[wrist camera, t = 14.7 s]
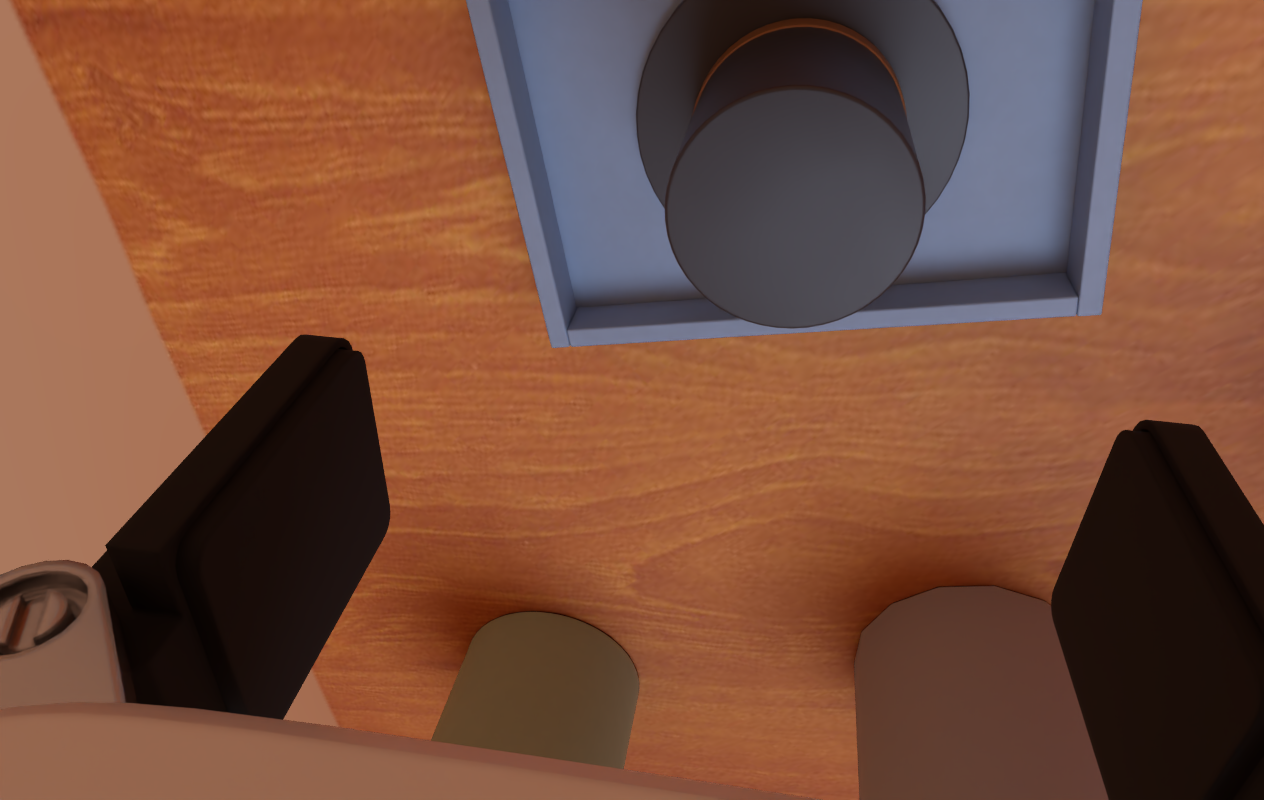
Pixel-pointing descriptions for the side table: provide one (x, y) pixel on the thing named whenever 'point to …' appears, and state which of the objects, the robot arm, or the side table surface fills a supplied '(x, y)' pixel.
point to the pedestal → (543, 691)
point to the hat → (800, 147)
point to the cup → (969, 702)
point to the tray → (953, 227)
